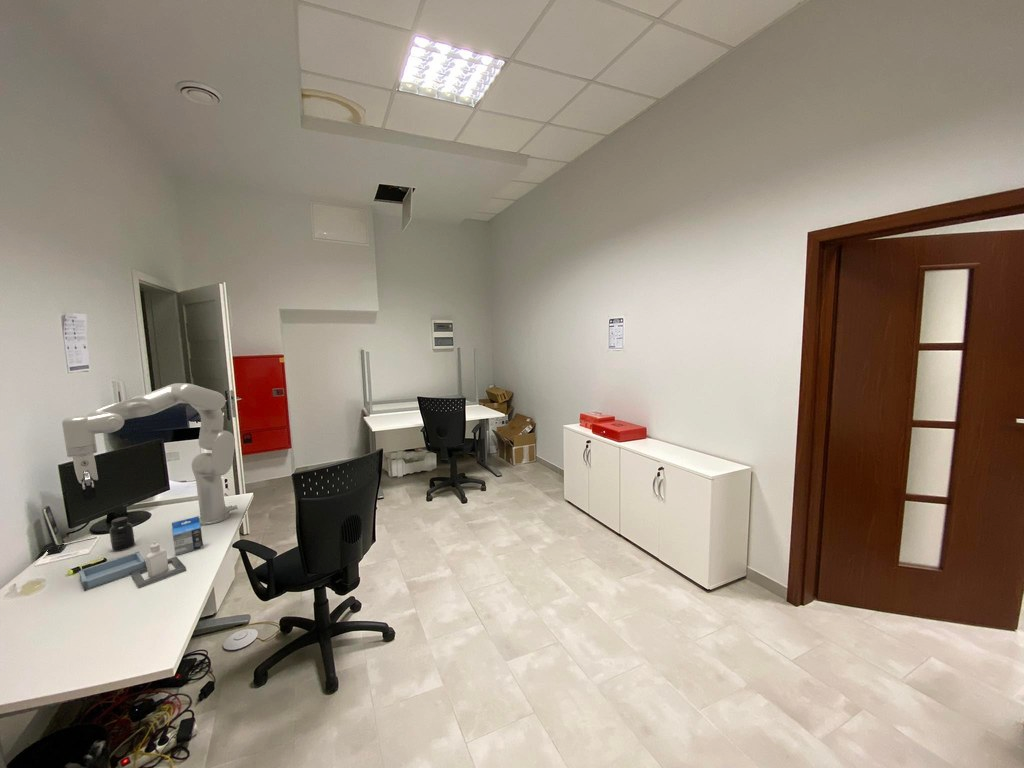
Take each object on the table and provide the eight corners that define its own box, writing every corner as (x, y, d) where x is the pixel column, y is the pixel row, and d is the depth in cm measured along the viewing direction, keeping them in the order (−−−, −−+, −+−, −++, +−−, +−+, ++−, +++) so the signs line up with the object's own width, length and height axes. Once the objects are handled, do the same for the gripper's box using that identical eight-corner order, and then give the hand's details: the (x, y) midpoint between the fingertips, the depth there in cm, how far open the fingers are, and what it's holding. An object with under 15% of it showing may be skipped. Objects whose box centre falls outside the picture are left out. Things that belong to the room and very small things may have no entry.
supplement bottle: (139, 543, 170) (135, 515, 168) (122, 551, 163) (118, 523, 162) (125, 542, 170) (120, 515, 169) (107, 551, 164) (102, 522, 162)
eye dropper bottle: (168, 572, 147) (164, 540, 146) (148, 578, 143) (143, 546, 142) (168, 567, 150) (164, 536, 149) (148, 573, 147) (143, 541, 145)
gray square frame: (176, 559, 156) (176, 556, 156) (186, 570, 148) (185, 567, 148) (130, 575, 146) (130, 572, 146) (138, 588, 138) (138, 585, 138)
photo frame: (34, 565, 154) (50, 546, 168) (34, 567, 154) (51, 548, 168) (88, 552, 162) (100, 535, 176) (89, 555, 162) (100, 537, 177)
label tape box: (175, 556, 158) (171, 525, 157) (175, 552, 161) (171, 522, 160) (203, 548, 164) (199, 518, 162) (202, 544, 167) (199, 515, 166)
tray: (139, 558, 157) (138, 551, 157) (146, 569, 150) (145, 561, 149) (79, 578, 145) (78, 570, 144) (84, 591, 137) (83, 582, 137)
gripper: (99, 451, 145) (106, 498, 147) (94, 444, 156) (101, 487, 158) (68, 456, 139) (75, 505, 141) (65, 449, 150) (72, 493, 152)
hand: (89, 495), depth 149 cm, fingers open, 9 cm apart
